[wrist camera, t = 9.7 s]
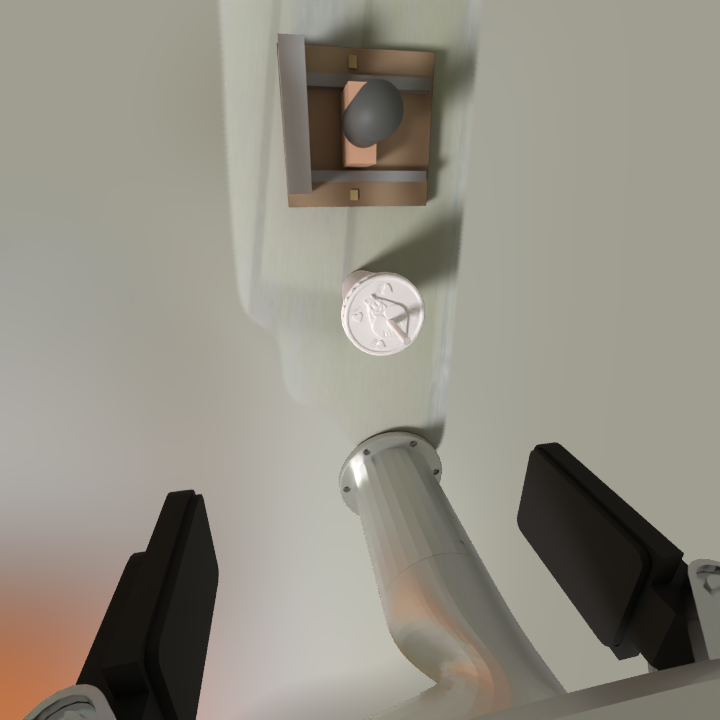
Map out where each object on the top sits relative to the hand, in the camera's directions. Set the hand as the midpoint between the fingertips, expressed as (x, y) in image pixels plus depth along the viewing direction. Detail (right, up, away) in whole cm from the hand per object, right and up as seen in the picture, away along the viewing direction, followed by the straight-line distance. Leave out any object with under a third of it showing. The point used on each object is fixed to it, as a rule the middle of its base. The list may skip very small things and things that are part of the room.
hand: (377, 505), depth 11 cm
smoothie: (0, +11, +27) cm, 29 cm away
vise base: (-1, +23, +21) cm, 31 cm away
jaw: (-1, +22, +20) cm, 30 cm away
